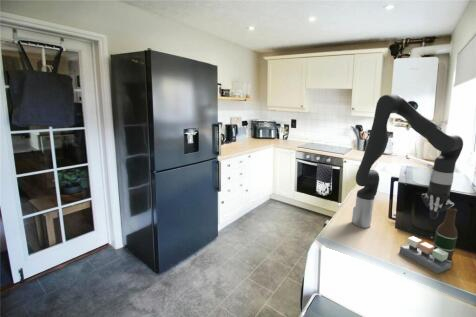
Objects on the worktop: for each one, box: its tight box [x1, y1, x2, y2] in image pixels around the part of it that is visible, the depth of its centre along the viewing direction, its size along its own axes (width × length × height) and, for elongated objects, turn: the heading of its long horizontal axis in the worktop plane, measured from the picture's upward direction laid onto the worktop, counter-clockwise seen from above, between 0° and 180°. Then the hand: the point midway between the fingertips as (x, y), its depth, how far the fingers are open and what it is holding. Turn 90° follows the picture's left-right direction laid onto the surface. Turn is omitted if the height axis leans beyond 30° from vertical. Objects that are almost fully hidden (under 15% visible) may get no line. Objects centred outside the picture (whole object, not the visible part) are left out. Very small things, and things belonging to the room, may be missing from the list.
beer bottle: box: [432, 206, 458, 260], centre depth 120 cm, size 8×8×24 cm
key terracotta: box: [419, 241, 435, 254], centre depth 118 cm, size 4×4×3 cm
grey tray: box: [399, 244, 452, 274], centre depth 118 cm, size 17×9×5 cm, turn 25°
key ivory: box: [406, 235, 423, 248], centre depth 123 cm, size 4×4×3 cm
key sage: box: [432, 248, 448, 261], centre depth 113 cm, size 4×4×3 cm
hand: (433, 218), depth 114 cm, fingers closed
